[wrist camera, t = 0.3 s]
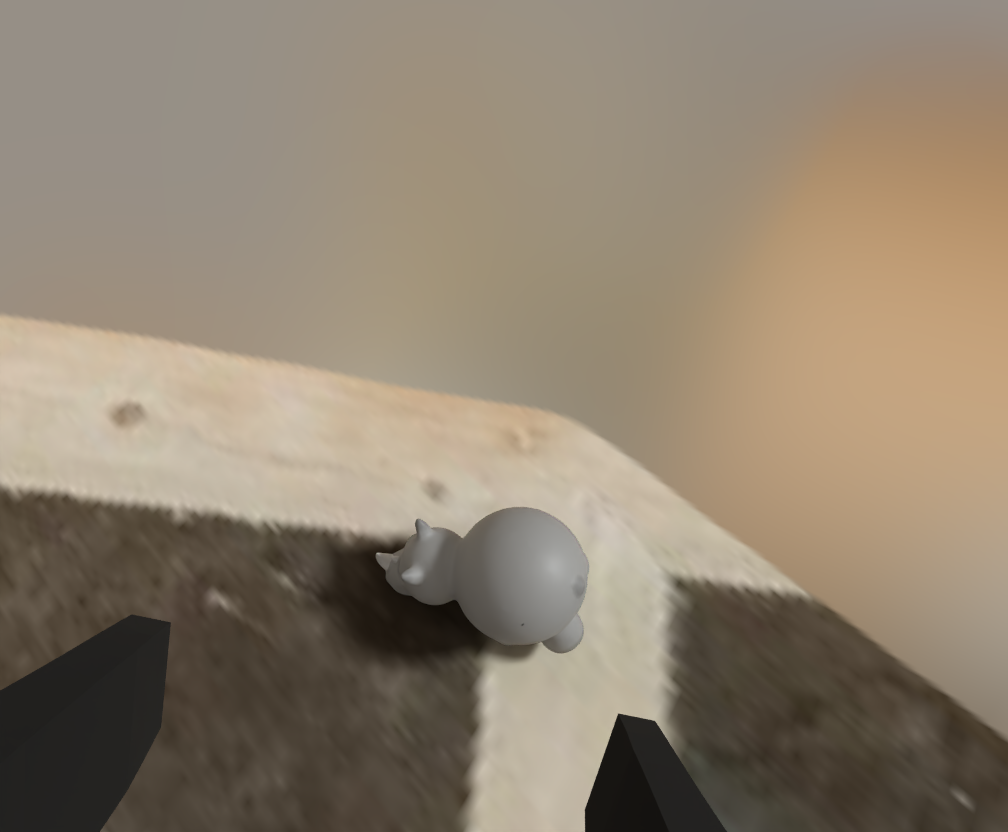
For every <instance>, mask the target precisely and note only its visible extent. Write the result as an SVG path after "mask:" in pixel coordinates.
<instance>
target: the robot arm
mask: <svg viewBox="0 0 1008 832" xmlns="http://www.w3.org/2000/svg"><path fill="white" fill-rule="evenodd" d="M170 625H171V622H166V621H161V620H156V619H151V618H146V617H141V616H136V615H130V616H128V617H126V618H125V619H123V620H121V621H119V622H118V623H116V624H114V625H113V626H111V627H109V628H107V629H106V630H104V631H102V632H101V633H99V634H97V635H95V636H94V637H92V638H90V639H89V640H87V641H85V642H84V643H82V644H80V645H78V646H77V647H75V648H73V649H72V650H70V651H68V652H67V653H65V654H63V655H62V656H60V657H58V658H56V659H55V660H53V661H51V662H50V663H48V664H46V665H44V666H43V667H41V668H39V669H37V670H36V671H34V672H32V673H30V674H29V675H27V676H25V677H23V678H22V679H20V680H18V681H16V682H15V683H13V684H11V685H9V686H8V687H6V688H4V689H2V690H0V832H100V830H101V829H102V827H103V826H104V824H105V823H106V822H107V820H108V819H109V817H110V816H111V814H112V813H113V811H114V810H115V808H116V807H117V805H118V804H119V802H120V801H121V799H122V798H123V796H124V795H125V793H126V792H127V790H128V788H129V786H130V784H131V783H132V781H133V779H134V777H135V775H136V773H137V772H138V770H139V768H140V766H141V764H142V762H143V761H144V759H145V757H146V755H147V753H148V751H149V749H150V747H151V745H152V743H153V741H154V739H155V737H156V735H157V734H158V732H159V730H160V728H161V722H162V711H163V700H164V689H165V679H166V668H167V657H168V646H169V636H170ZM585 832H727V831H726V830H725V828H724V827H723V825H722V824H721V822H720V821H719V819H718V818H717V816H716V815H715V813H714V812H713V810H712V809H711V807H710V806H709V804H708V803H707V801H706V800H705V798H704V797H703V795H702V794H701V792H700V791H699V789H698V788H697V786H696V784H695V783H694V781H693V780H692V778H691V777H690V775H689V774H688V772H687V770H686V769H685V767H684V766H683V764H682V763H681V761H680V759H679V758H678V756H677V755H676V753H675V751H674V750H673V748H672V747H671V745H670V744H669V742H668V740H667V739H666V737H665V736H664V734H663V733H662V731H661V729H660V728H659V726H658V725H657V723H656V722H655V721H652V720H648V719H643V718H638V717H633V716H628V715H623V714H618V716H617V719H616V722H615V725H614V727H613V730H612V733H611V736H610V739H609V742H608V745H607V748H606V751H605V753H604V756H603V759H602V762H601V765H600V768H599V771H598V774H597V777H596V779H595V782H594V785H593V788H592V791H591V794H590V797H589V800H588V803H587V805H586V808H585Z"/></svg>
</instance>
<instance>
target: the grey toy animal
mask: <svg viewBox="0 0 1008 832" xmlns="http://www.w3.org/2000/svg"><path fill="white" fill-rule="evenodd" d="M415 526H416V531H417V534H414V535H412V536H411V537H410V538H409V539H408V541H407V542H406V544H405V547H404V548H403V549H401V550H399V551H397V552H395V553H393V554H387V553H376V559H377V561H378V563H379V564H380V566H381V567H382V568H383V569H385V572H386V576H385V577H386V580H387V582H388V583H389V584H390V585H391V586H392V587H393V589H394V590H395V591H397V592H398V593H400V594H404V595H409V596H413V597H414V598H415V599H417V600H418V601H420V602H422V603H425V604H429V605H441V604H445V603H447V602H449V601H452V600H456V601H457V602H458V603H459V605H460V607H461V609H462V611H463V613H464V614H465V616H466V617H467V618H468V620H469V621H470V622H471V623H472V624H473V625H474V626H475V627H476V628H477V629H478V630H479V631H481V632H482V633H483V634H485V635H487V636H488V637H490V638H492V639H494V640H496V641H497V642H499V643H501V644H503V645H528V644H534V643H538V642H542V643H543V644H544V646H545V647H547V648H548V649H549V650H551V651H553V652H555V653H566V652H569V651H571V650H573V649H574V648H575V647H577V645H578V644H579V643H580V642H581V640H582V637H583V633H584V629H583V623H582V620H581V618H580V616H579V615H578V613H577V612H578V611H579V609H580V607H581V605H582V602H583V600H584V597H585V593H586V588H587V579H588V573H589V562H588V559H587V557H586V555H585V553H584V552H583V550H582V548H581V546H580V544H579V542H578V540H577V538H576V537H575V536H574V534H573V533H572V532H571V530H570V529H569V528H568V527H567V526H566V525H565V524H564V523H562V522H561V521H560V520H558V519H557V518H556V517H554V516H552V515H550V514H548V513H546V512H543V511H541V510H538V509H533V508H527V507H512V508H506V509H502V510H499V511H496V512H494V513H492V514H490V515H488V516H486V517H484V518H483V519H482V520H480V521H479V522H478V523H477V524H475V525H474V526H473V528H472V529H471V530H470V531H469V532H468V534H467V535H466V536H465V537H464V538H461V537H460V536H459V535H458V534H456V533H455V532H453V531H451V530H448V529H444V528H430V526H429V525H428V524H427V523H426V522H424V521H423V520H421V519H417V520H416V522H415Z"/></svg>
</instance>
